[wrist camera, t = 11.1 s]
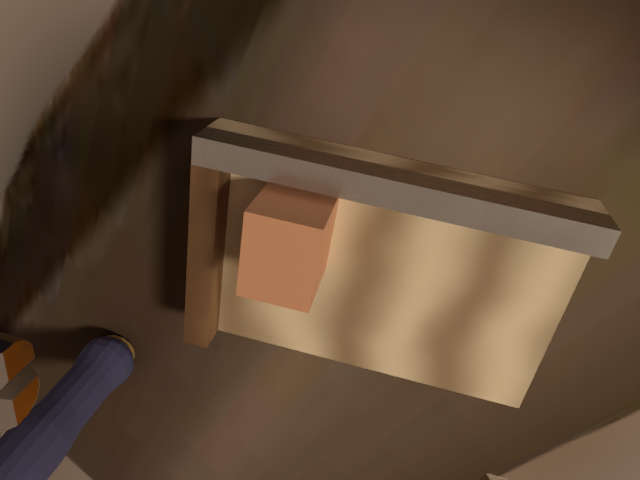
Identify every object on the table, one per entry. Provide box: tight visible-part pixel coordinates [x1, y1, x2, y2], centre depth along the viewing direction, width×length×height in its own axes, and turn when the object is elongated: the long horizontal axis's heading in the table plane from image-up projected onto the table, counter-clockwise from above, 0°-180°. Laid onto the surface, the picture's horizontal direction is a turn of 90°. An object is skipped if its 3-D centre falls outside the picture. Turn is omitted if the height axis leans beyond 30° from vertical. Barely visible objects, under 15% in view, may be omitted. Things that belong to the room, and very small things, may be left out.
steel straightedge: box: [191, 126, 622, 260], centre depth 28 cm, size 22×2×2 cm, turn 82°
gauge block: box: [236, 182, 339, 314], centre depth 29 cm, size 4×5×5 cm
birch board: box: [184, 118, 609, 408], centre depth 32 cm, size 22×14×4 cm, turn 82°
